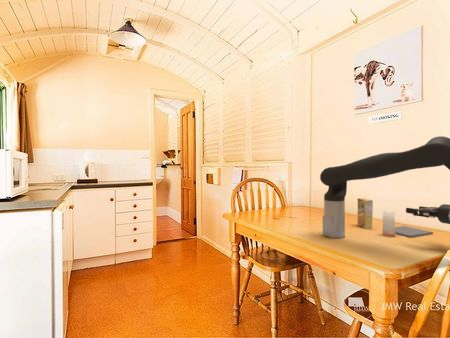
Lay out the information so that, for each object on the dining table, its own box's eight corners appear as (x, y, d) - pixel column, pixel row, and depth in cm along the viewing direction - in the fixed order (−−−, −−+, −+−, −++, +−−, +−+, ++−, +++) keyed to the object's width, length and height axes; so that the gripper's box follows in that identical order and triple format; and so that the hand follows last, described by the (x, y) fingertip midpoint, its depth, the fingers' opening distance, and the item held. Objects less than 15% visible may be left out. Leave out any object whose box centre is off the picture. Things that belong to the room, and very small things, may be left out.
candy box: (356, 225, 149) (356, 198, 149) (364, 225, 149) (364, 197, 149) (365, 228, 141) (365, 200, 140) (373, 228, 141) (373, 200, 140)
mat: (410, 237, 123) (410, 235, 123) (382, 230, 136) (382, 228, 136) (432, 234, 129) (432, 232, 129) (404, 227, 142) (404, 225, 142)
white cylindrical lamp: (390, 237, 124) (390, 211, 124) (380, 234, 129) (380, 210, 129) (397, 236, 126) (397, 210, 126) (387, 233, 131) (387, 209, 131)
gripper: (467, 204, 104) (423, 199, 119) (444, 206, 99) (401, 202, 114) (467, 223, 104) (423, 216, 119) (444, 226, 99) (402, 219, 114)
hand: (413, 209), depth 117 cm, fingers open, 8 cm apart
